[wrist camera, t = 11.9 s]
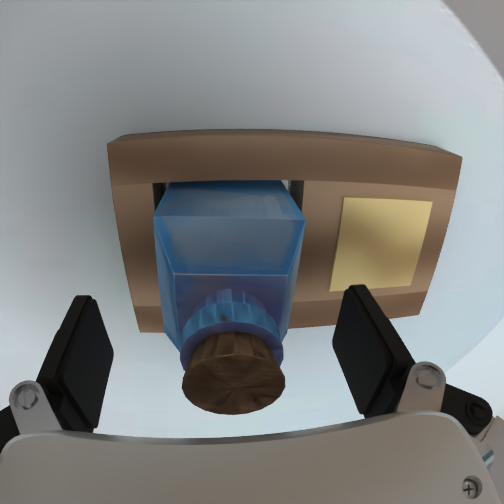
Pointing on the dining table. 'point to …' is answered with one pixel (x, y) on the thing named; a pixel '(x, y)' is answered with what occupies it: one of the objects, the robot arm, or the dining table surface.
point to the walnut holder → (309, 203)
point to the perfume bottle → (228, 287)
